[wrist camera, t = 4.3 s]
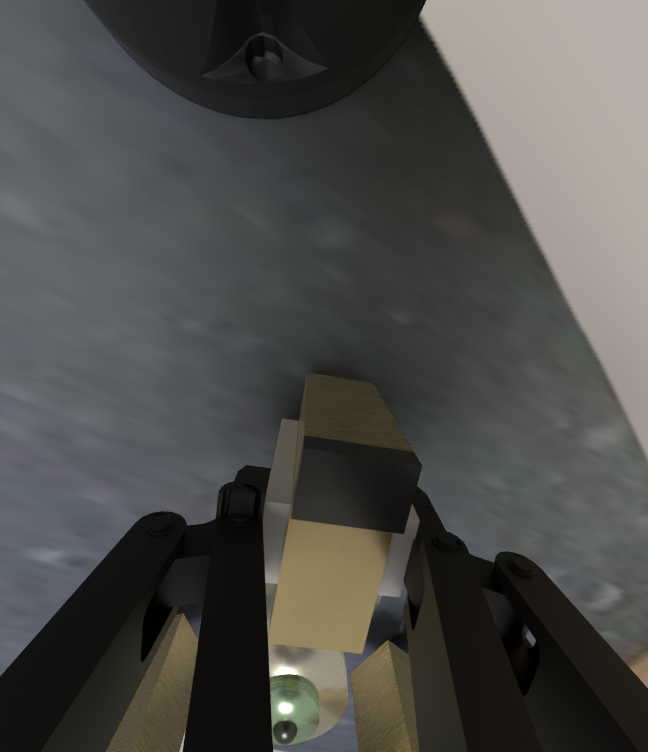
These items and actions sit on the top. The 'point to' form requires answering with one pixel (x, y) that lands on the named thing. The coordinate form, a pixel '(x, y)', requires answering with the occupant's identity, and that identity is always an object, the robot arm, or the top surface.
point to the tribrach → (307, 686)
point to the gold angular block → (341, 515)
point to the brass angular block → (385, 702)
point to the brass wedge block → (161, 696)
